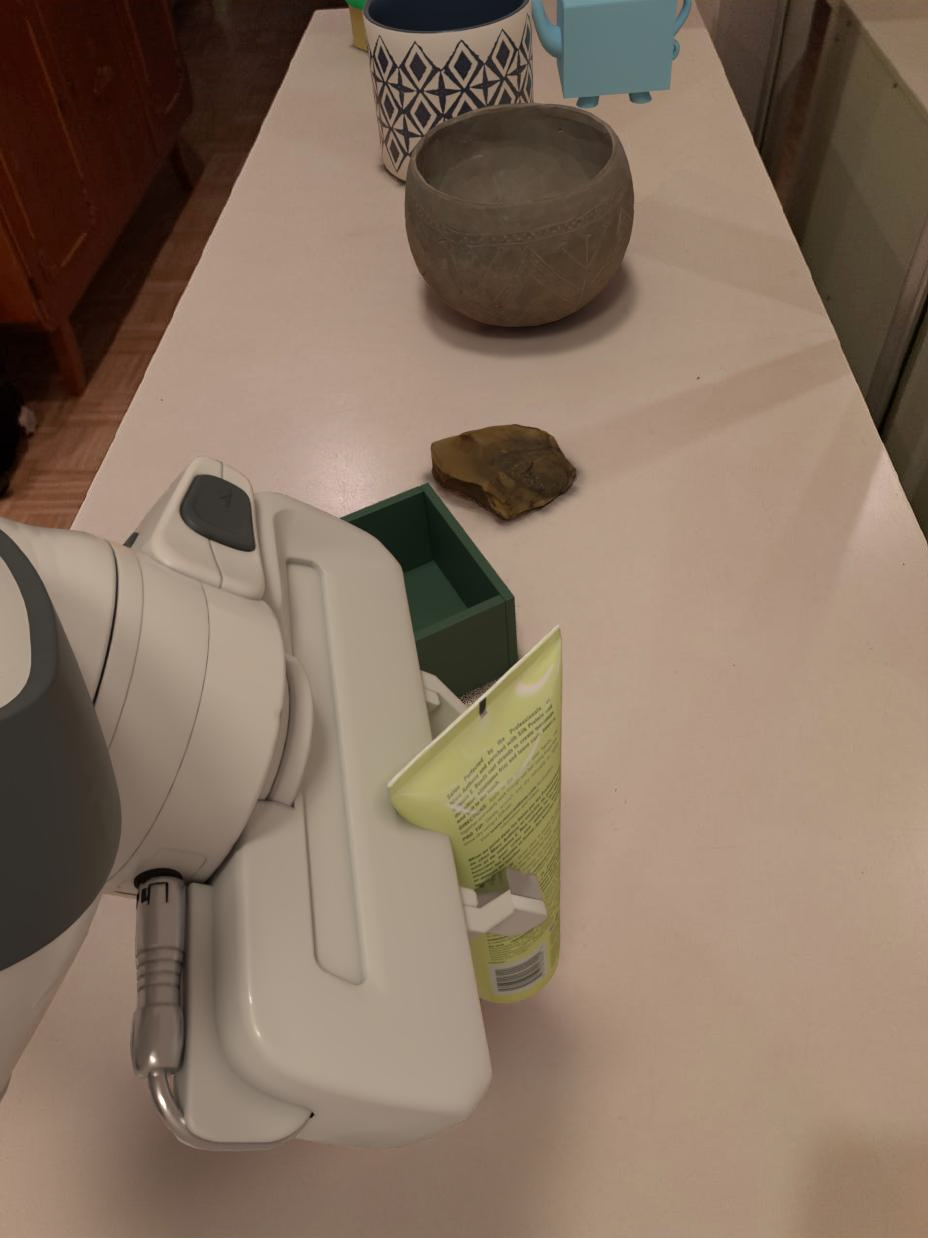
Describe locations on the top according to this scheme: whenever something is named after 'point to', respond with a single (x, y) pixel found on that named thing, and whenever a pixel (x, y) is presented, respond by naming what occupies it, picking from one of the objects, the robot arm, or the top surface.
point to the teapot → (612, 46)
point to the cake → (357, 23)
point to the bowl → (519, 211)
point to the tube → (500, 808)
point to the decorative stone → (503, 467)
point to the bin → (446, 589)
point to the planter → (443, 64)
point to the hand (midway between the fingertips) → (512, 825)
